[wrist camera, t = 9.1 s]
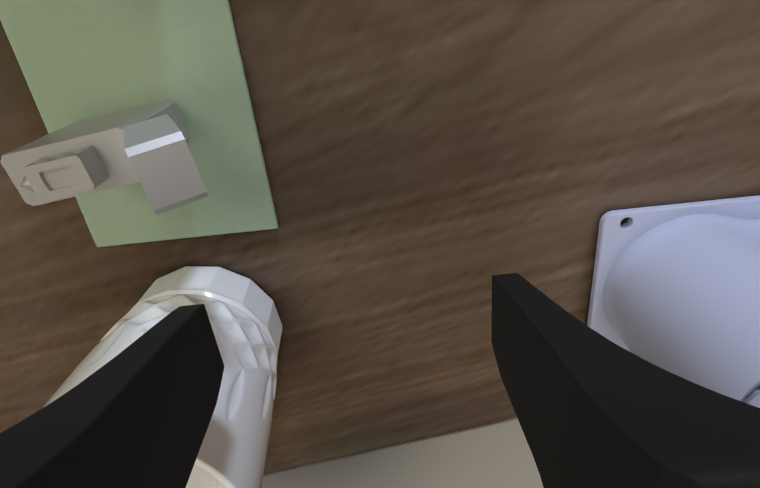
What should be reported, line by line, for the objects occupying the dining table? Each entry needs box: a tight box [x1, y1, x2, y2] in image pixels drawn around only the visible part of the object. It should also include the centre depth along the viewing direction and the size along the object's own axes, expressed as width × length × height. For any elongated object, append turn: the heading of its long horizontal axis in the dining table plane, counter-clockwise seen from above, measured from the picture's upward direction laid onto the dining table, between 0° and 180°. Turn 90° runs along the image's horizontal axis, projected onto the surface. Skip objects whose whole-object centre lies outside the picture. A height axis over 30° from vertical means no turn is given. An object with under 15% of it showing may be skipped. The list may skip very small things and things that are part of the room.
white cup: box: [43, 266, 283, 488], centre depth 19 cm, size 8×8×10 cm
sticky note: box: [0, 0, 278, 247], centre depth 19 cm, size 8×10×1 cm
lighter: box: [1, 99, 208, 215], centre depth 15 cm, size 7×2×8 cm, turn 102°
